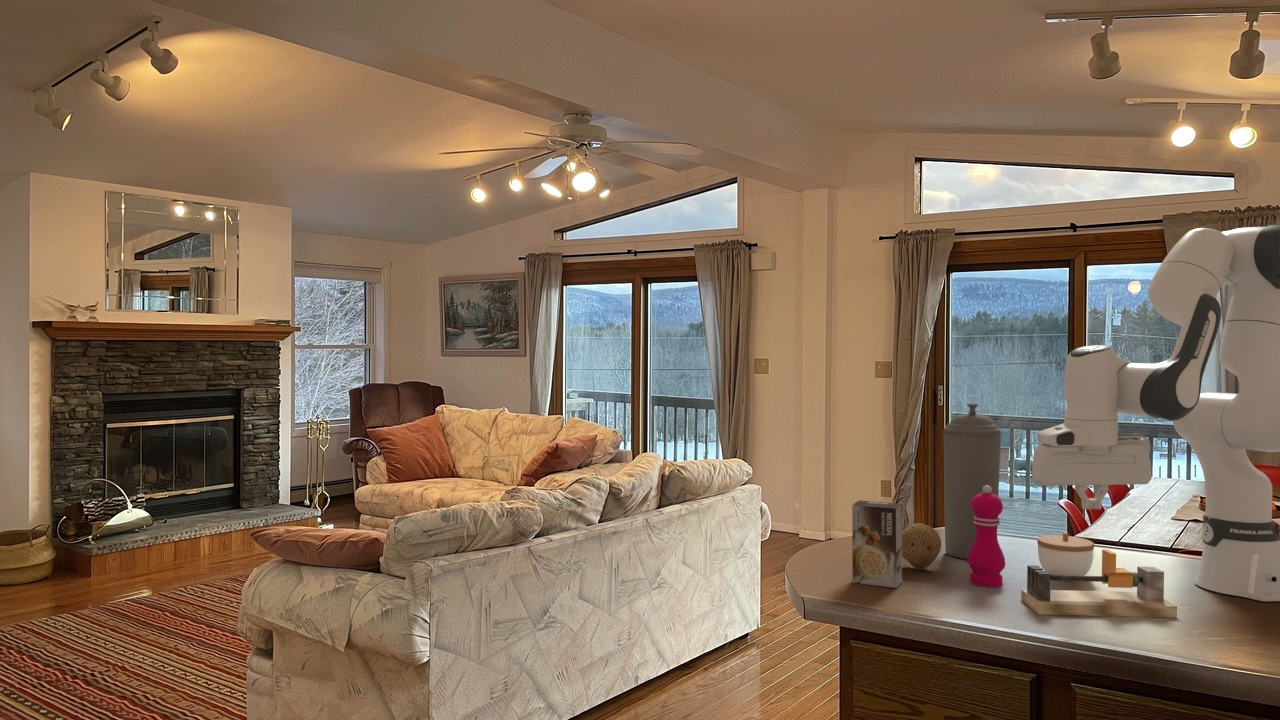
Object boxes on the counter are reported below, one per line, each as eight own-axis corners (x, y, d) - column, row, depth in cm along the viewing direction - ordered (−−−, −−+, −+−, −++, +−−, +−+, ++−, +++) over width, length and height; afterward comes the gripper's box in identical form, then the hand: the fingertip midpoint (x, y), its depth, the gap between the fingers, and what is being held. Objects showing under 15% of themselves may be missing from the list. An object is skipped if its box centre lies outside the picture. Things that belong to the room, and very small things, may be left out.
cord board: (1151, 602, 169) (1152, 563, 169) (1177, 617, 160) (1177, 575, 160) (1021, 599, 171) (1021, 560, 171) (1039, 614, 162) (1039, 572, 162)
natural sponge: (936, 577, 187) (936, 529, 187) (892, 571, 191) (893, 525, 191) (944, 567, 195) (944, 521, 195) (902, 562, 199) (903, 517, 199)
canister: (929, 551, 210) (931, 402, 210) (975, 547, 214) (977, 401, 213) (964, 564, 198) (966, 405, 197) (1012, 560, 202) (1014, 404, 201)
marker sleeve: (1123, 582, 167) (1124, 549, 167) (1132, 587, 163) (1133, 554, 163) (1101, 582, 167) (1102, 549, 167) (1109, 587, 164) (1110, 553, 164)
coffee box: (903, 581, 184) (904, 503, 183) (896, 589, 178) (897, 508, 178) (858, 575, 188) (859, 499, 188) (850, 583, 182) (851, 504, 182)
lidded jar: (1053, 568, 195) (1054, 525, 195) (1103, 579, 186) (1104, 534, 186) (1026, 575, 189) (1027, 531, 188) (1076, 587, 180) (1077, 540, 180)
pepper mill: (1008, 589, 178) (1009, 488, 178) (969, 586, 180) (971, 487, 179) (1001, 579, 185) (1002, 483, 185) (964, 577, 187) (965, 481, 186)
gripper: (1141, 431, 167) (1141, 504, 168) (1028, 432, 169) (1029, 505, 169) (1158, 435, 161) (1158, 511, 162) (1041, 436, 162) (1042, 512, 163)
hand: (1091, 508), depth 165 cm, fingers closed
